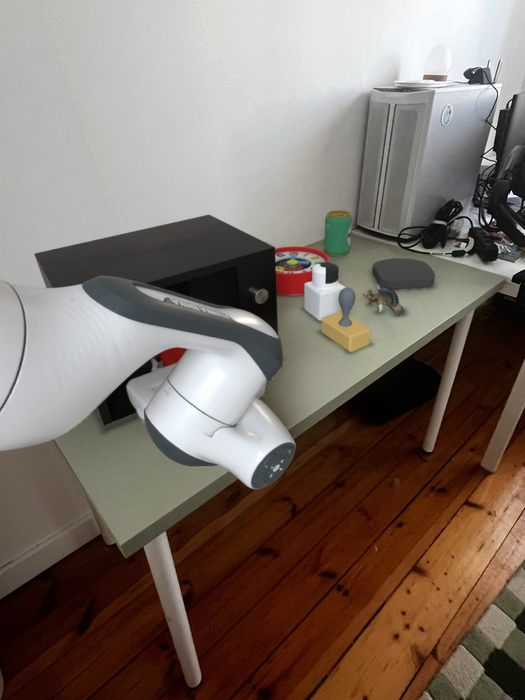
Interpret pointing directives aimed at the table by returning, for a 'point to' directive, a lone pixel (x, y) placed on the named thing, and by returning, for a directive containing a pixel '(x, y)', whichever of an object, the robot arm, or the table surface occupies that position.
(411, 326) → the table surface
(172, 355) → the sauce bottle
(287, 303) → the table surface
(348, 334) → the rubber stamp
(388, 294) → the animal figurine
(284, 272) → the toy clock
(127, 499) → the table surface
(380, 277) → the media streaming box
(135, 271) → the toaster oven
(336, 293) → the medicine bottle
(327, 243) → the beverage can
